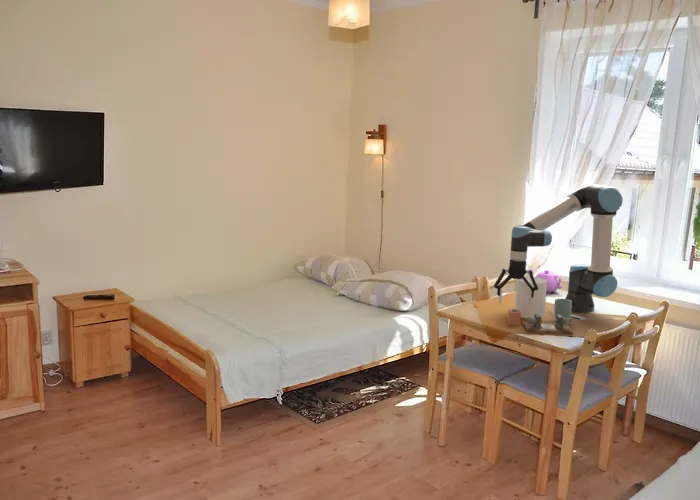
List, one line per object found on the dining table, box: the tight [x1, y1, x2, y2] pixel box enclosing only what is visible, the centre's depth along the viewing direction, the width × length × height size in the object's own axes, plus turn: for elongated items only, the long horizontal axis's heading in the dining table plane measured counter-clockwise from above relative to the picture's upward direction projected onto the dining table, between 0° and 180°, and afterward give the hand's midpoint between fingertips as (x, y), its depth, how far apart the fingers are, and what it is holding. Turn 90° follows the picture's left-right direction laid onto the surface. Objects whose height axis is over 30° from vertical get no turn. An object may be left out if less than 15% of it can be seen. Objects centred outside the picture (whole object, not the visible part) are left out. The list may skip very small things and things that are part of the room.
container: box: [514, 276, 547, 319], centre depth 304 cm, size 14×14×18 cm
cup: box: [553, 298, 572, 320], centre depth 296 cm, size 8×8×10 cm
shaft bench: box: [523, 314, 574, 335], centre depth 282 cm, size 20×11×7 cm, turn 85°
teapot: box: [527, 268, 563, 295], centre depth 350 cm, size 20×14×12 cm
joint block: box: [507, 308, 522, 326], centre depth 291 cm, size 5×5×7 cm
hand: (514, 303), depth 290 cm, fingers open, 13 cm apart
